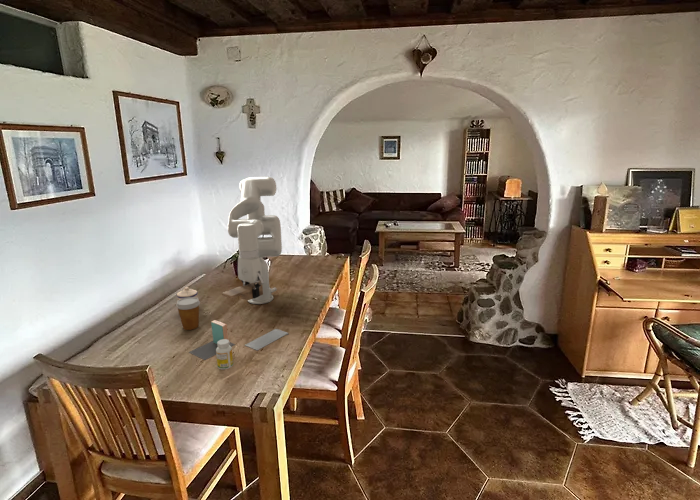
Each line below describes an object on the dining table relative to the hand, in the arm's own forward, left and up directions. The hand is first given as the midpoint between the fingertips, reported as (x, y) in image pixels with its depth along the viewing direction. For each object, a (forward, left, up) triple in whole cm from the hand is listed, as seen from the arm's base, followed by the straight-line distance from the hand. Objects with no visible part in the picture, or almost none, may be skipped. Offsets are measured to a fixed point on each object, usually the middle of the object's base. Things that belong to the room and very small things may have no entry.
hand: (252, 295), depth 170 cm
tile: (+17, 0, -14) cm, 23 cm away
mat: (+21, 0, -15) cm, 26 cm away
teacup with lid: (+3, -40, -15) cm, 43 cm away
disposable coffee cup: (+14, -24, -15) cm, 32 cm away
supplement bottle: (+26, +14, -15) cm, 33 cm away
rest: (+4, +12, -15) cm, 20 cm away
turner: (+4, 0, 0) cm, 4 cm away
